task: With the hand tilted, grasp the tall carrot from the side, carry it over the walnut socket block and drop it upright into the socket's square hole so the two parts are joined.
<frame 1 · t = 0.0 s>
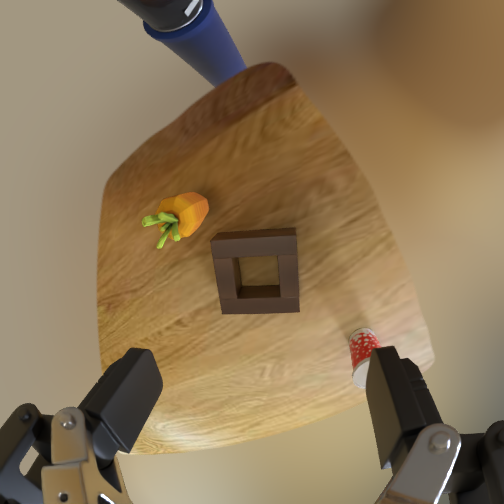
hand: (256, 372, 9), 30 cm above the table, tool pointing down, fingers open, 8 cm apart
socket block: (259, 267, 41), on the table
carrot: (203, 202, 39), on the table
beverage cup: (361, 338, 42), on the table
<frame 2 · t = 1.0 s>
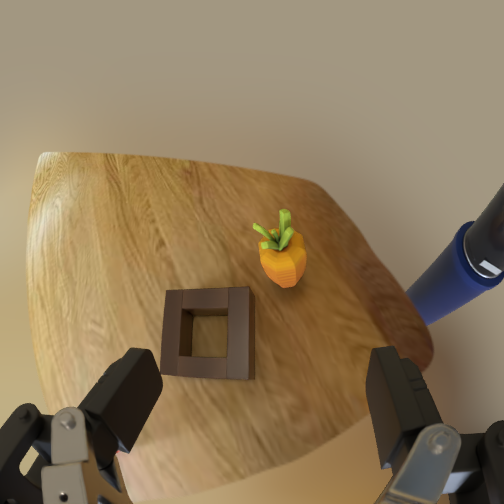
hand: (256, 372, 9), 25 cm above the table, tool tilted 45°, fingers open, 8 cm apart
socket block: (213, 337, 35), on the table
carrot: (288, 283, 37), on the table
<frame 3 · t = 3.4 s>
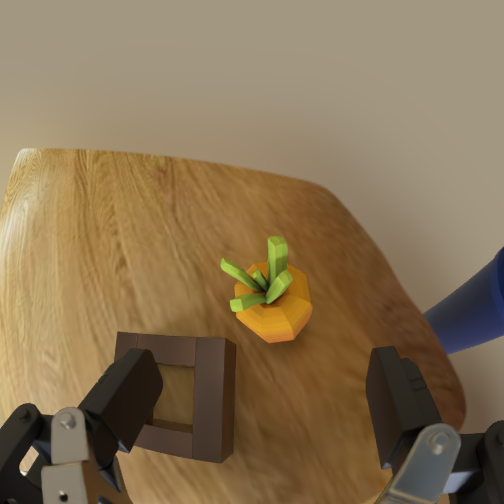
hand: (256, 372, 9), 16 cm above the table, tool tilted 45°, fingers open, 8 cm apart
socket block: (180, 395, 24), on the table
carrot: (283, 329, 26), on the table
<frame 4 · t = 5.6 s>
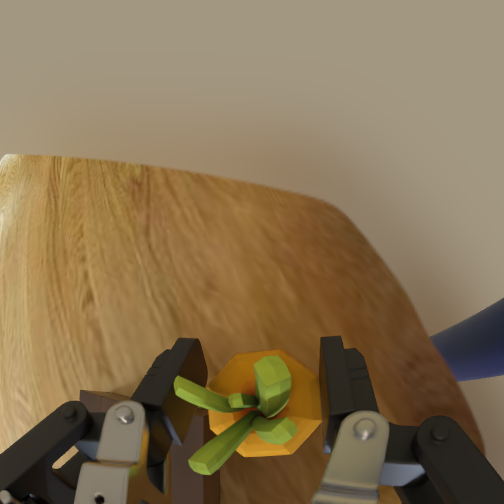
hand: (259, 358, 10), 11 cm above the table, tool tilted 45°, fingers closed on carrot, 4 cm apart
socket block: (157, 460, 17), on the table
carrot: (280, 394, 19), on the table, touching gripper
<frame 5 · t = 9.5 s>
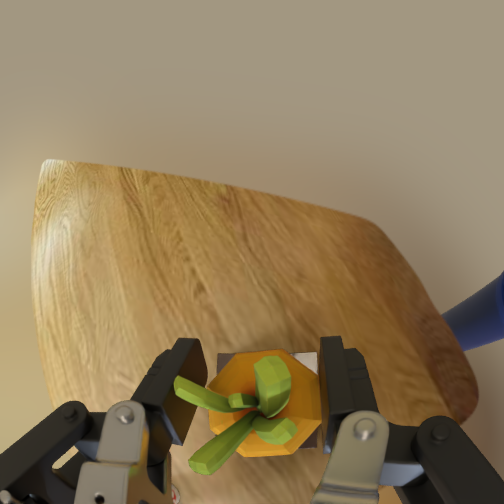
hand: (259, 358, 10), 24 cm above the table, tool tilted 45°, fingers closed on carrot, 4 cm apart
socket block: (269, 399, 30), on the table
carrot: (280, 394, 19), point 13 cm above the table, touching gripper
beverage cup: (165, 492, 25), on the table
when the fingers open (12 cm above the table, at t = 13.5 s): carrot drops 1 cm, on the table.
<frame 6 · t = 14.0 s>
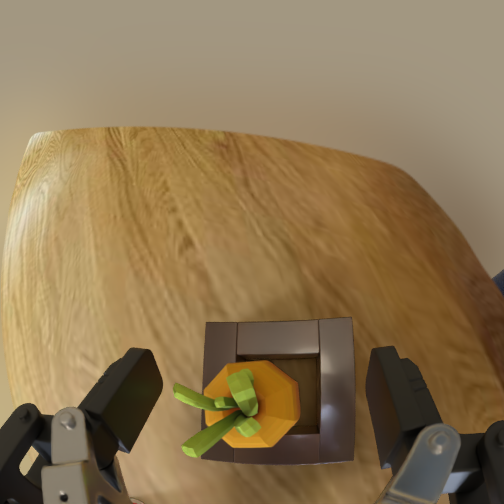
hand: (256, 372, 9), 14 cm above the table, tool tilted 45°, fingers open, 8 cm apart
socket block: (281, 393, 21), on the table
carrot: (278, 394, 21), on the table
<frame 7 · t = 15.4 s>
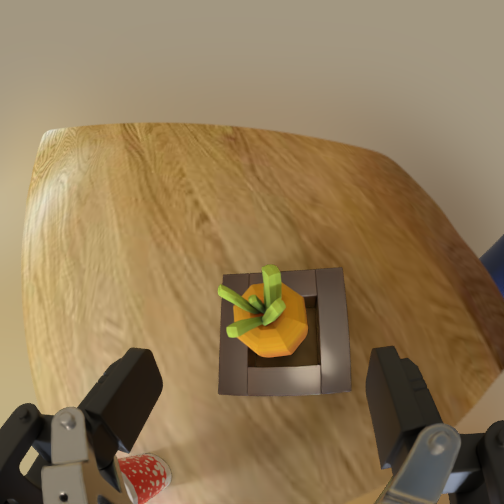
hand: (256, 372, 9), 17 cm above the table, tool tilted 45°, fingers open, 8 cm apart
socket block: (286, 338, 26), on the table
carrot: (284, 340, 26), on the table
beverage cup: (153, 470, 21), on the table
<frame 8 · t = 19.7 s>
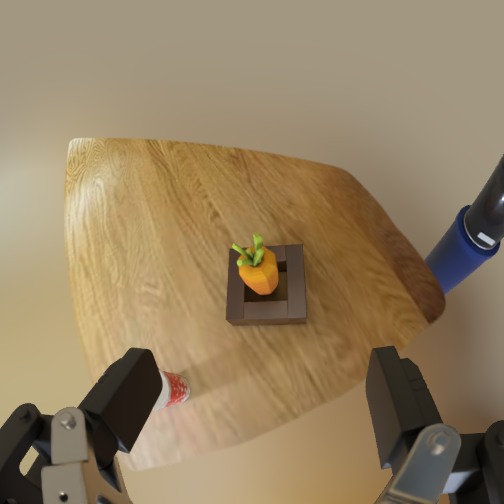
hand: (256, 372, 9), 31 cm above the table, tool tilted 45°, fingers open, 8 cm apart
socket block: (268, 290, 43), on the table
carrot: (267, 291, 43), on the table
beverage cup: (177, 389, 38), on the table
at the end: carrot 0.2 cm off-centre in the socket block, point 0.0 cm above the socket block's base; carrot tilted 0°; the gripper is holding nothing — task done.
